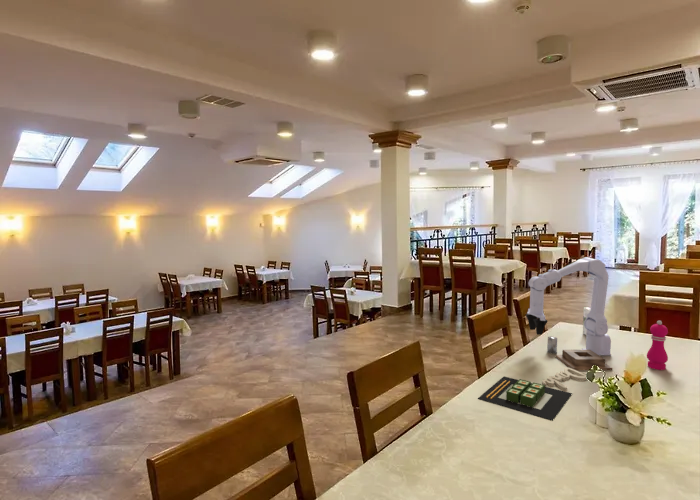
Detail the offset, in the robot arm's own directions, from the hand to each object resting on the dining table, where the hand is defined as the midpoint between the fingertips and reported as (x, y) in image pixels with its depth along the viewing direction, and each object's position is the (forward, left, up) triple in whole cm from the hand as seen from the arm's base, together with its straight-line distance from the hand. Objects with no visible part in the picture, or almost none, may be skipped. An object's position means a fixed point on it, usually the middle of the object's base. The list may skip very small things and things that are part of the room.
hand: (535, 331), depth 198 cm
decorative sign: (+1, +31, -11) cm, 33 cm away
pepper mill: (-43, +18, -10) cm, 48 cm away
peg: (-8, -1, -10) cm, 13 cm away
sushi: (+22, +45, -11) cm, 51 cm away
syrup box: (-39, -26, -10) cm, 48 cm away
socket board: (-15, +13, -10) cm, 22 cm away
